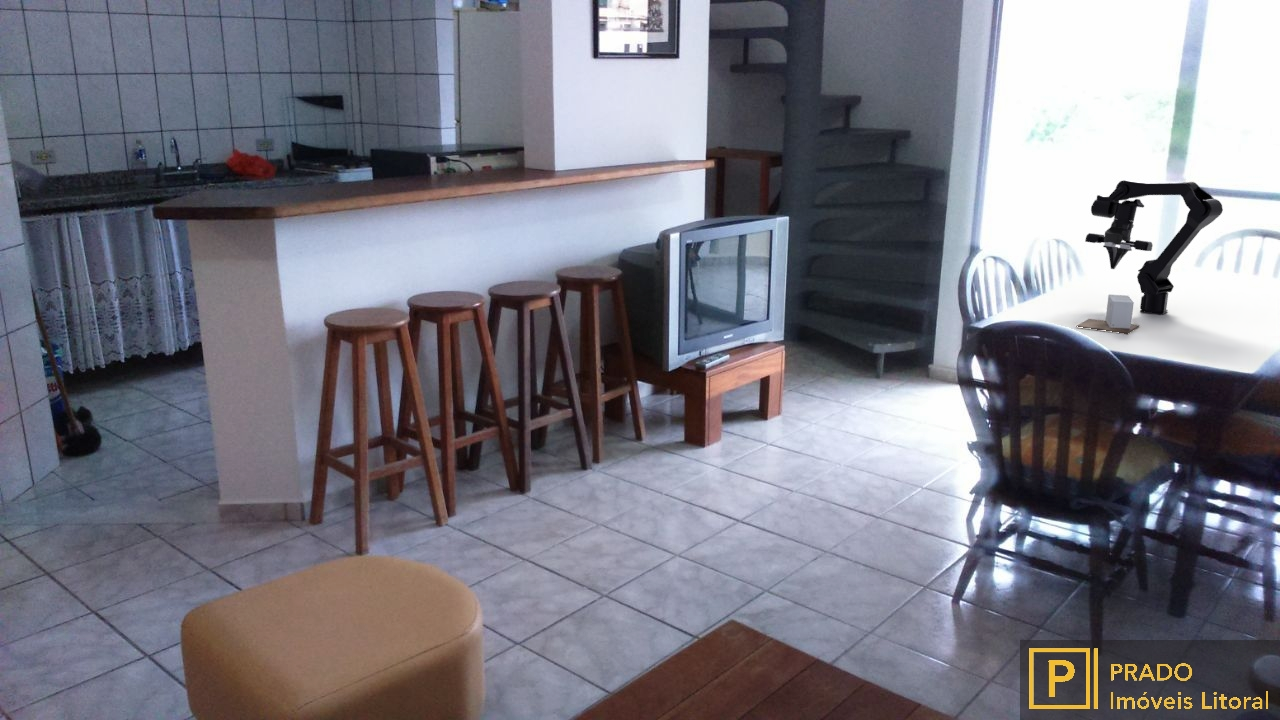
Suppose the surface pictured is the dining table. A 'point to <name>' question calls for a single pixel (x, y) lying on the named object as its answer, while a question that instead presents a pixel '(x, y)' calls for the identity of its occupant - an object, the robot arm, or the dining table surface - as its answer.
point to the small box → (1119, 311)
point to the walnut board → (1105, 326)
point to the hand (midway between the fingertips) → (1112, 269)
